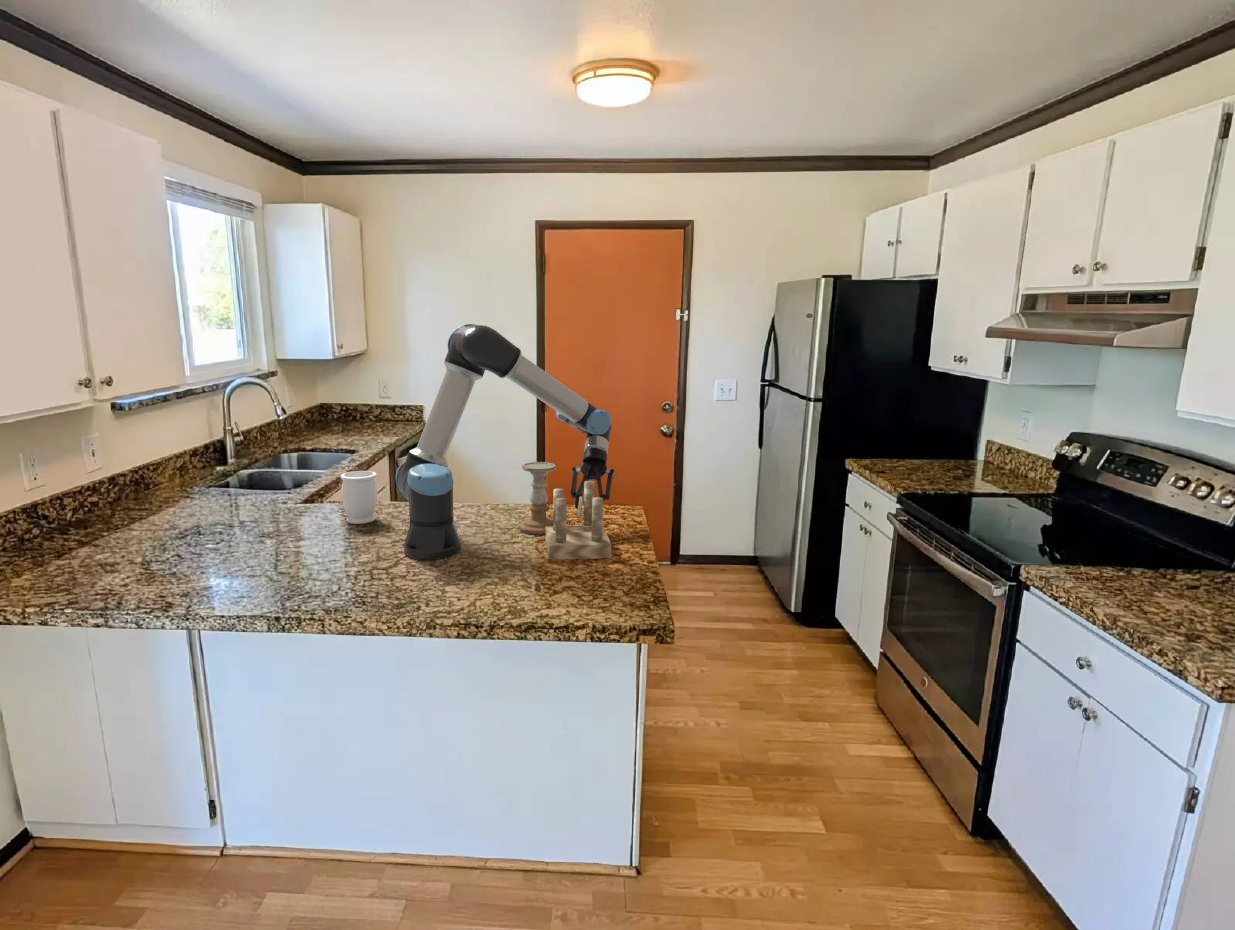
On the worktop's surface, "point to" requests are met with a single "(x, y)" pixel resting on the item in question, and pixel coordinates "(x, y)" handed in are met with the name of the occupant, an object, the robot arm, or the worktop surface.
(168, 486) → the worktop surface
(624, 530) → the worktop surface
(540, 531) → the candle holder
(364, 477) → the jar
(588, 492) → the stool leg
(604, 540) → the stool
